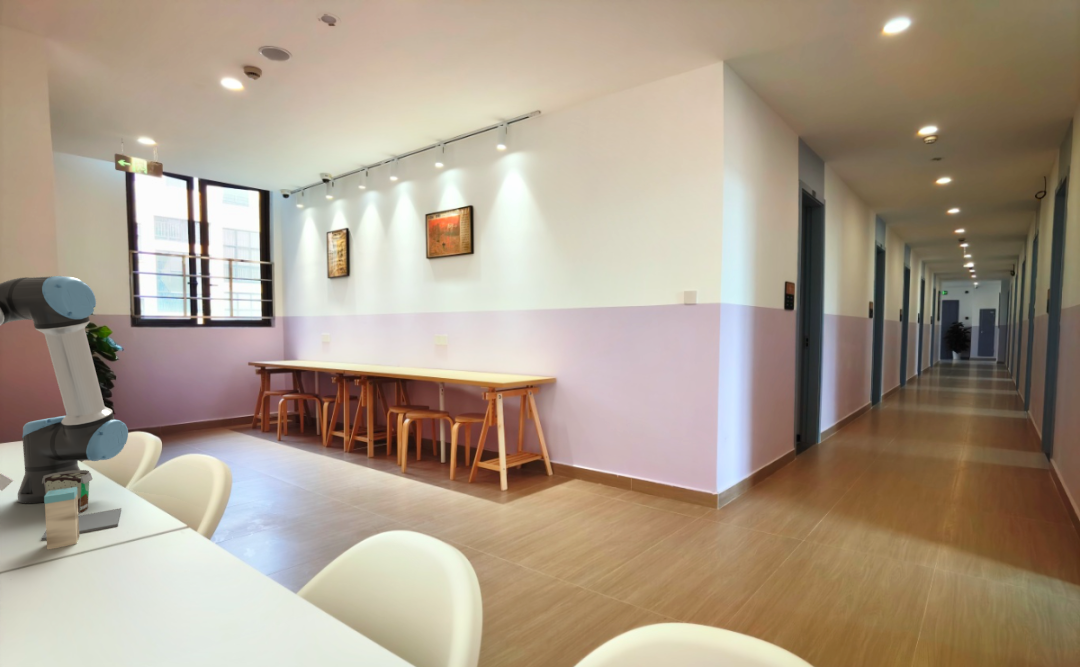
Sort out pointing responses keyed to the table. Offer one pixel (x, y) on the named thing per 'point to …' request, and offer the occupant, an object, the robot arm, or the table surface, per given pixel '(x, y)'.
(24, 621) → the table surface
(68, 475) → the food container
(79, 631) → the table surface
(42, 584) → the table surface
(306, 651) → the table surface
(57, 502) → the maple block
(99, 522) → the charcoal mat
